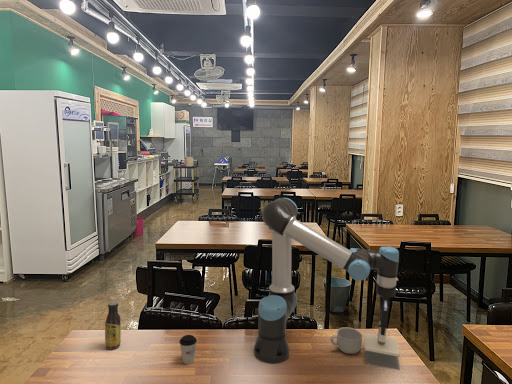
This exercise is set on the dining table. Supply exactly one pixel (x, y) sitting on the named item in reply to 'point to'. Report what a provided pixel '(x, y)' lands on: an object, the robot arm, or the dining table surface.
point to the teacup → (348, 340)
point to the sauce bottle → (113, 327)
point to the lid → (381, 344)
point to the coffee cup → (188, 348)
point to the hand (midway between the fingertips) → (381, 339)
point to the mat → (382, 360)
